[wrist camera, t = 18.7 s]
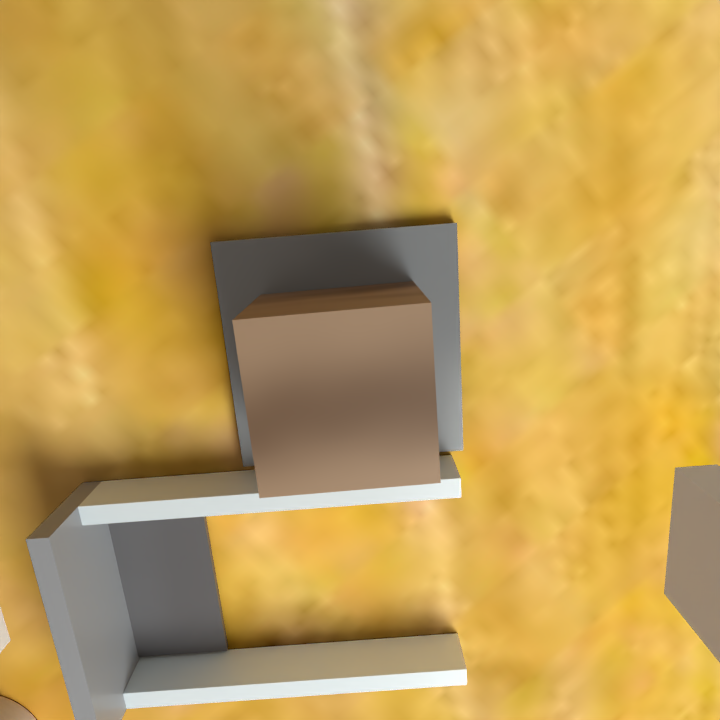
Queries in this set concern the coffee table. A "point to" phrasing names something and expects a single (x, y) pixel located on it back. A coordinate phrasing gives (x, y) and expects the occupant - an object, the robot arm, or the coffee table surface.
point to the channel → (197, 601)
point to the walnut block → (340, 389)
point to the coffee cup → (13, 710)
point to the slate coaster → (346, 269)
